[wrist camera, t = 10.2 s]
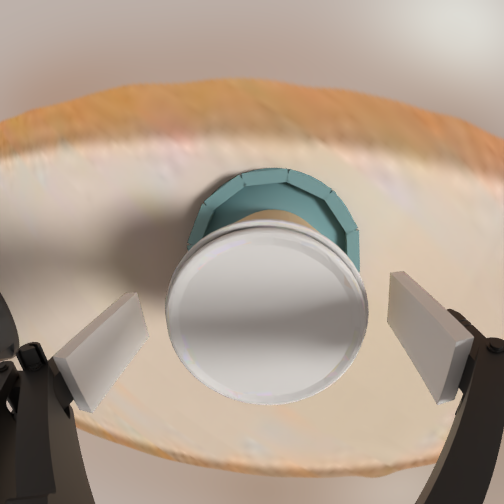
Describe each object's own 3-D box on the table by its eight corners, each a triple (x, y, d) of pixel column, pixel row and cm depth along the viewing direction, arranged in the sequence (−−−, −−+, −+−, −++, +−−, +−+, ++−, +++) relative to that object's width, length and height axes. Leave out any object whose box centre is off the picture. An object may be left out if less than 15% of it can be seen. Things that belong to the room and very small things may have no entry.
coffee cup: (194, 263, 24) (127, 334, 13) (264, 173, 22) (245, 171, 10) (280, 328, 25) (275, 432, 14) (354, 249, 23) (412, 317, 11)
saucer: (207, 330, 27) (202, 339, 25) (181, 180, 24) (175, 180, 22) (356, 320, 25) (360, 329, 24) (351, 162, 22) (356, 161, 20)
